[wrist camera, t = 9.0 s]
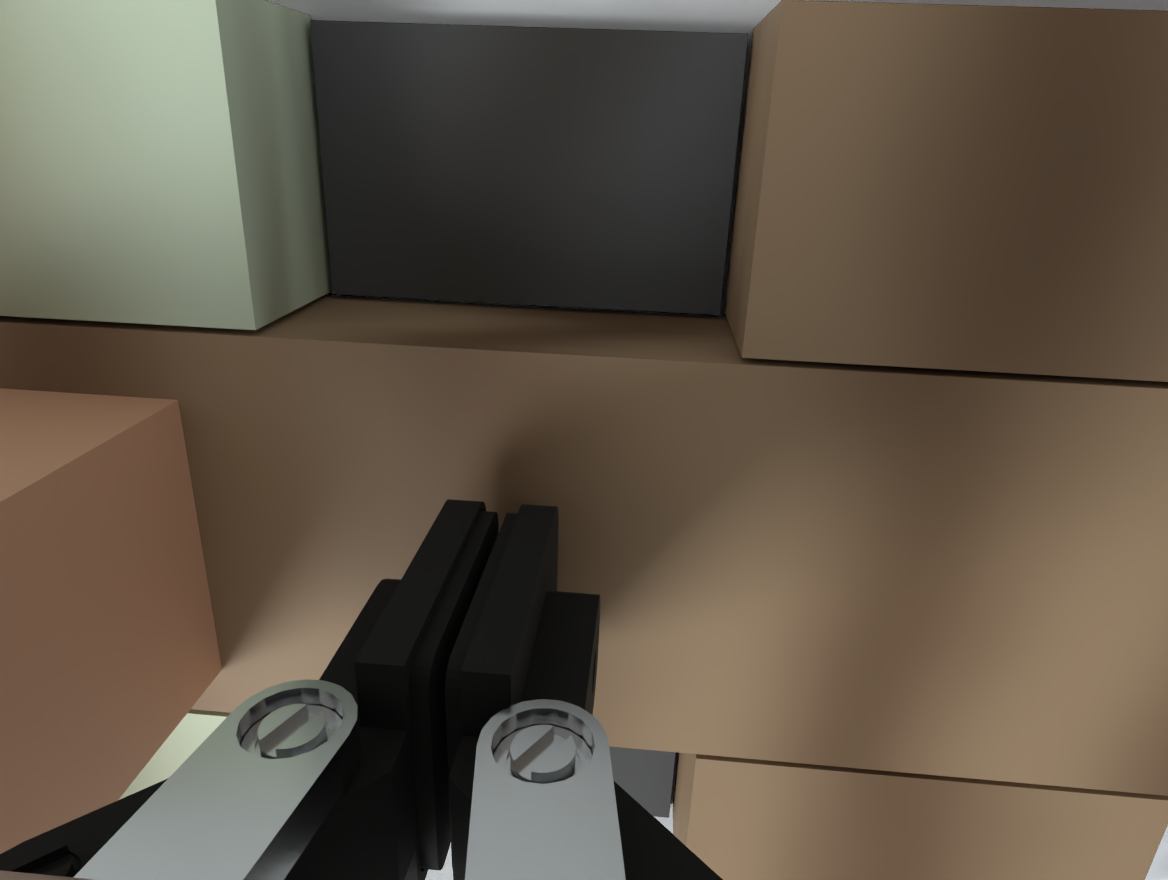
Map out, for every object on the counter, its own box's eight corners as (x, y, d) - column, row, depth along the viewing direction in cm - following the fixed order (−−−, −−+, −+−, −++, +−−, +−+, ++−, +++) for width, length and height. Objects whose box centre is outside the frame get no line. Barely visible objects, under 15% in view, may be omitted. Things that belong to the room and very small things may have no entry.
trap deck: (1301, 45, 12) (1726, -8, 7) (1032, 844, 18) (1167, 1100, 13) (-215, -1, 13) (-686, -70, 9) (10, 748, 19) (-195, 947, 15)
